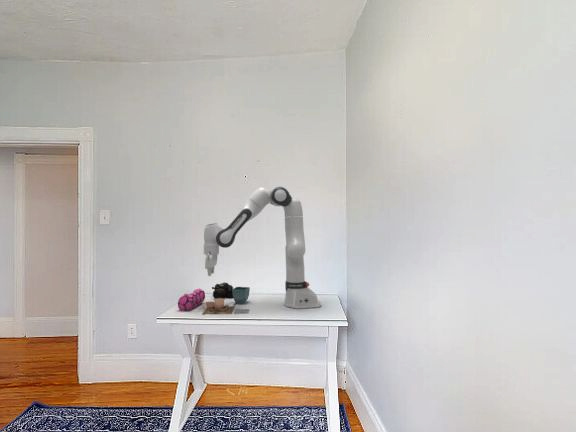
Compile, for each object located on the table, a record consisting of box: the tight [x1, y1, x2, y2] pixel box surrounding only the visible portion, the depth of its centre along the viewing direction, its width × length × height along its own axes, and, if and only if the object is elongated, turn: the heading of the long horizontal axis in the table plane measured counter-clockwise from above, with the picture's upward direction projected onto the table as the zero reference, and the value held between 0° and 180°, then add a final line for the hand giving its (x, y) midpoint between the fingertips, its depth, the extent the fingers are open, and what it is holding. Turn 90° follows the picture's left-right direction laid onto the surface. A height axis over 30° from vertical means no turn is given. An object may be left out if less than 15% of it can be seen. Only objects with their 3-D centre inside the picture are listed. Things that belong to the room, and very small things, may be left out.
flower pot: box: [232, 286, 251, 305], centre depth 215 cm, size 9×9×9 cm
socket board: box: [202, 304, 236, 315], centre depth 197 cm, size 16×16×2 cm
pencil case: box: [177, 288, 206, 312], centre depth 205 cm, size 21×10×10 cm, turn 173°
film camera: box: [211, 281, 234, 300], centre depth 228 cm, size 18×12×10 cm
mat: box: [233, 308, 250, 315], centre depth 194 cm, size 8×8×1 cm
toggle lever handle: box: [205, 298, 225, 309], centre depth 197 cm, size 10×5×6 cm, turn 93°
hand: (210, 274), depth 204 cm, fingers open, 8 cm apart
